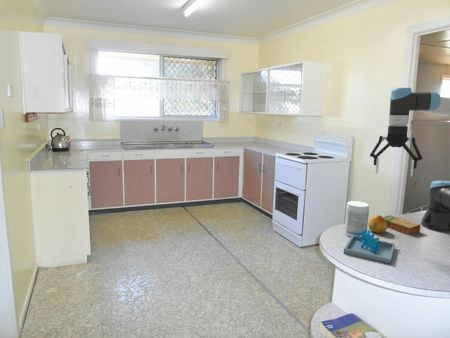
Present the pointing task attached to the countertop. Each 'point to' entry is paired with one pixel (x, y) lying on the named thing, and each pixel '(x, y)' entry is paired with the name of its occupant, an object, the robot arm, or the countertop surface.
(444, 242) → the countertop surface
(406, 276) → the countertop surface
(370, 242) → the gear
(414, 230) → the carton
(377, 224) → the fruit
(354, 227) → the supplement tub
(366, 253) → the tray
